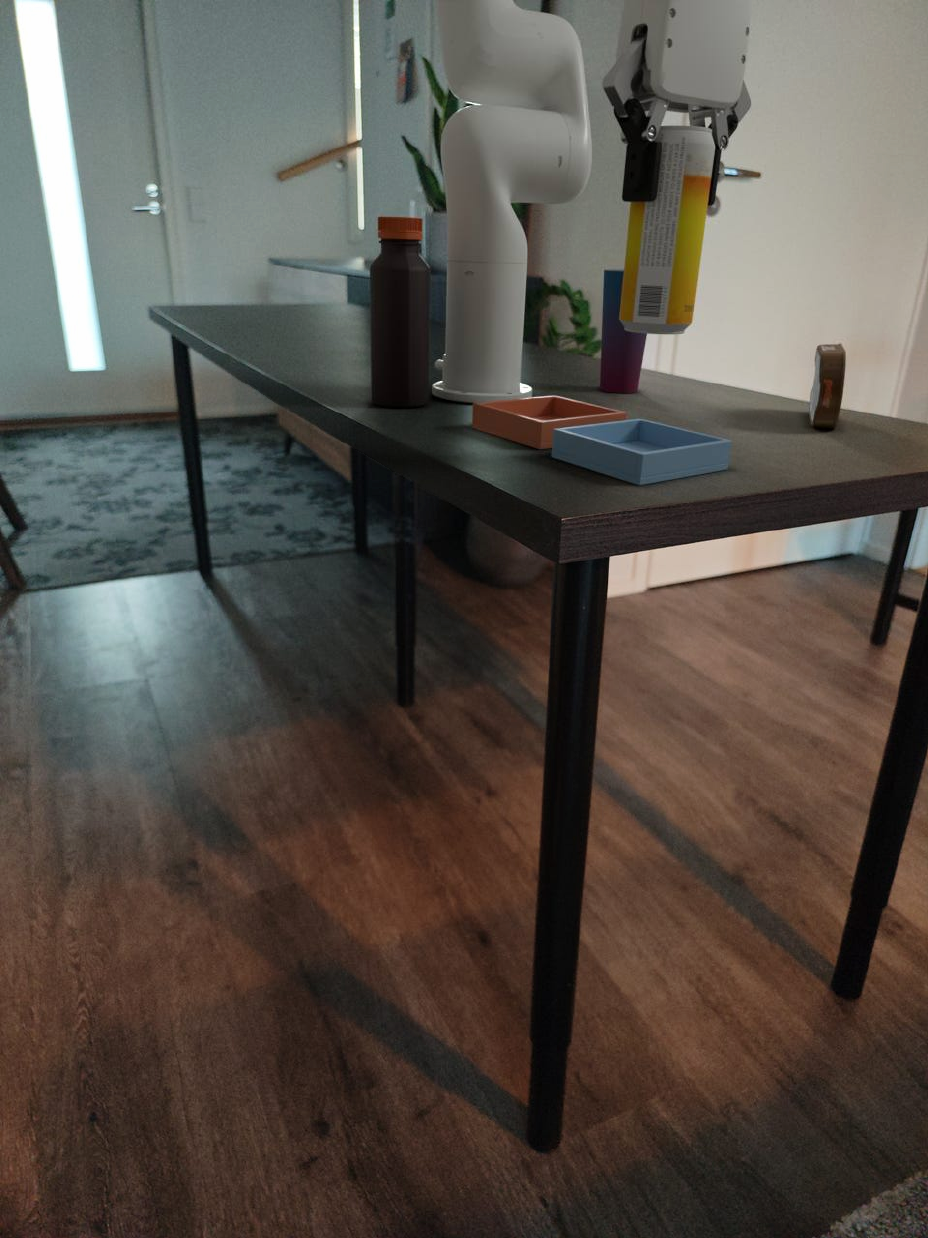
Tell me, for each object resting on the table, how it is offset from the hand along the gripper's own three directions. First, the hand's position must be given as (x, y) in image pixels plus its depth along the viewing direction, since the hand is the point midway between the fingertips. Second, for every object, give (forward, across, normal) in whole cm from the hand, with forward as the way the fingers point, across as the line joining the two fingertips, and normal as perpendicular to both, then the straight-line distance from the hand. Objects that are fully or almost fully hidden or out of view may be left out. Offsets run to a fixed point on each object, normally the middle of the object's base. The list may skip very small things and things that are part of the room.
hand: (668, 201), depth 69 cm
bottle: (+22, +4, -35) cm, 41 cm away
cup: (+22, -28, -31) cm, 47 cm away
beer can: (+10, 0, 0) cm, 10 cm away
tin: (+22, -34, -4) cm, 40 cm away
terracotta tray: (+21, -1, -14) cm, 26 cm away
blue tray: (+21, 0, 0) cm, 21 cm away
